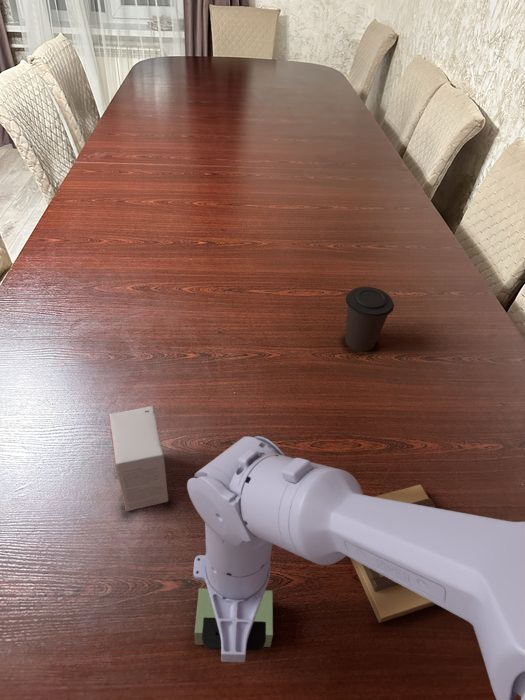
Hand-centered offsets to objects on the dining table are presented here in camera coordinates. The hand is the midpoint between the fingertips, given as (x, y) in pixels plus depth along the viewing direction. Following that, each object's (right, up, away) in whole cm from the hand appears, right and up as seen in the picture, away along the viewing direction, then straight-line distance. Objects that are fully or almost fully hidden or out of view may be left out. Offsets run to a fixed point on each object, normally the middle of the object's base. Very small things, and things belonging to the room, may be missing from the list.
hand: (234, 606), depth 54 cm
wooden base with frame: (+20, +2, +10) cm, 23 cm away
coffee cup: (+20, +28, +39) cm, 52 cm away
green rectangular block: (0, -3, +3) cm, 4 cm away
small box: (-13, +9, +15) cm, 22 cm away
